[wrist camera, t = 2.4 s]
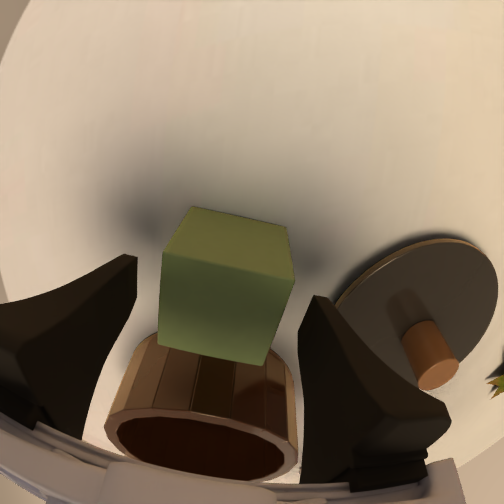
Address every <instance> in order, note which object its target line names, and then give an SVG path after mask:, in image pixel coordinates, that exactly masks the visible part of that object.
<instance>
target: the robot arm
mask: <svg viewBox="0 0 504 504" xmlns="http://www.w3.org/2000/svg"><path fill="white" fill-rule="evenodd" d="M137 264H138V257H136V256H131V255H127V254H123V255H121V256H119V257H117V258H115V259H113V260H111V261H110V262H108V263H106V264H104V265H103V266H101V267H99V268H97V269H95V270H94V271H92V272H90V273H88V274H86V275H84V276H82V277H80V278H78V279H76V280H74V281H72V282H70V283H68V284H66V285H64V286H62V287H59V288H57V289H54V290H52V291H49V292H46V293H43V294H40V295H37V296H34V297H30V298H27V299H23V300H19V301H15V302H10V303H4V304H0V474H2V475H3V476H5V477H6V478H8V479H9V480H11V481H12V482H14V483H15V484H17V485H18V486H20V487H22V488H23V489H25V490H27V491H28V492H30V493H32V494H34V495H35V496H37V497H39V498H41V499H43V500H44V501H46V504H466V502H465V498H464V495H463V490H462V487H461V483H460V480H459V476H458V473H457V469H456V466H455V463H454V460H453V458H448V459H444V460H440V461H436V462H433V463H430V464H428V465H425V462H424V459H426V458H427V457H428V453H427V448H428V447H429V446H430V445H432V444H433V443H434V442H435V441H437V440H438V439H439V438H440V437H441V436H442V435H443V434H444V433H445V432H446V431H447V430H448V429H449V427H450V425H451V418H450V416H449V413H448V411H447V408H446V406H445V403H444V402H442V401H440V400H438V399H436V398H434V397H432V396H431V395H429V394H427V393H425V392H423V391H422V390H420V389H419V388H417V387H415V386H414V385H412V384H411V383H409V382H408V381H407V380H405V379H404V378H402V377H401V376H400V375H399V374H397V373H396V372H395V371H394V370H392V369H391V368H390V367H389V366H388V365H386V364H385V363H384V362H383V361H382V360H381V359H380V358H379V357H378V356H377V355H376V354H375V353H374V352H373V351H372V350H371V349H370V348H369V347H368V346H367V345H366V344H365V343H364V342H363V341H362V339H361V338H360V337H359V336H358V335H357V334H356V332H355V331H354V330H353V329H352V328H351V326H350V325H349V324H348V323H347V321H346V320H345V319H344V317H343V316H342V315H341V314H340V312H339V311H338V310H337V309H336V307H335V306H334V305H333V303H332V302H331V301H330V300H329V299H328V298H327V297H322V296H317V295H313V297H312V300H311V302H310V304H309V307H308V309H307V311H306V314H305V316H304V318H303V321H302V323H301V325H300V328H299V330H298V359H299V367H300V374H301V382H302V389H303V397H304V441H303V455H302V466H301V469H300V470H299V474H301V475H300V482H299V484H282V483H263V482H250V481H240V480H231V479H224V478H216V477H210V476H204V475H198V474H193V473H187V472H183V471H178V470H173V469H169V468H165V467H161V466H157V465H153V464H149V463H145V462H142V461H138V460H135V459H131V458H128V457H125V456H122V455H119V454H116V453H113V452H110V451H107V450H104V449H101V448H99V447H96V446H93V445H91V444H88V443H86V442H83V441H81V440H82V435H83V431H84V426H85V422H86V418H87V414H88V410H89V407H90V403H91V400H92V397H93V393H94V390H95V387H96V384H97V381H98V379H99V376H100V373H101V370H102V368H103V365H104V363H105V361H106V359H107V356H108V354H109V353H110V351H111V349H112V347H113V345H114V343H115V342H116V340H117V338H118V336H119V334H120V333H121V331H122V329H123V327H124V325H125V323H126V322H127V320H128V318H129V316H130V313H131V311H132V309H133V306H134V303H135V301H136V298H137Z"/></svg>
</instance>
